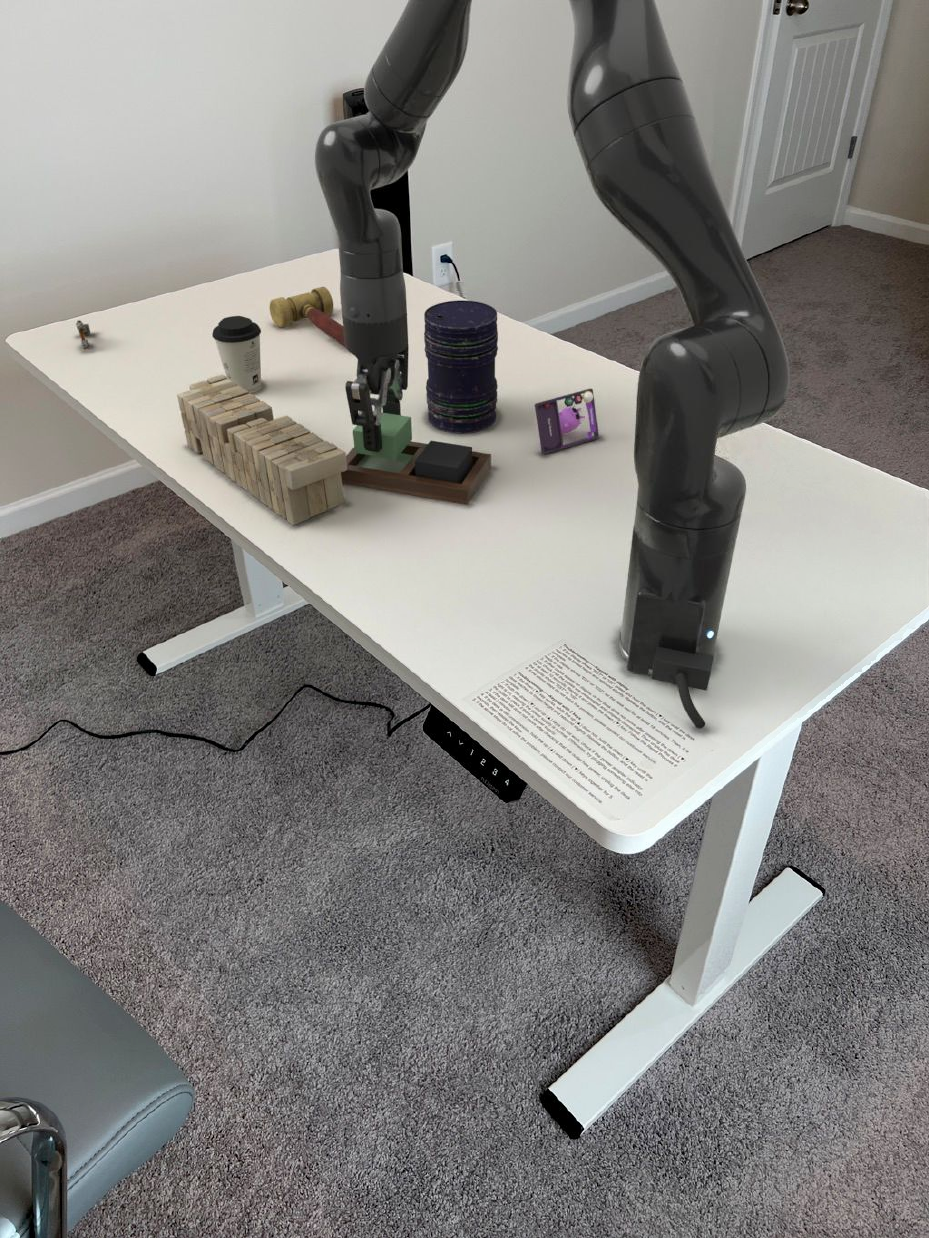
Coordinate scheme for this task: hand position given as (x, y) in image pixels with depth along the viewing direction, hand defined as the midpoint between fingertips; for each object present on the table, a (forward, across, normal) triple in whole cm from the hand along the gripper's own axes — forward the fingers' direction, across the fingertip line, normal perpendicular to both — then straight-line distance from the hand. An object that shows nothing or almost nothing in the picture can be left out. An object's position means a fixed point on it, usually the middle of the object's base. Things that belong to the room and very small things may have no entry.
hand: (383, 438), depth 122 cm
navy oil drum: (+5, +17, -5) cm, 18 cm away
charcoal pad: (+4, 0, -8) cm, 9 cm away
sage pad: (+1, 0, 0) cm, 1 cm away
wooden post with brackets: (+5, +23, +63) cm, 67 cm away
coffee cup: (+5, +16, +29) cm, 34 cm away
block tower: (+5, -6, +15) cm, 17 cm away
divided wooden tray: (+5, 0, -4) cm, 6 cm away
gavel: (+5, +38, +26) cm, 46 cm away
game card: (+5, +15, -20) cm, 25 cm away
